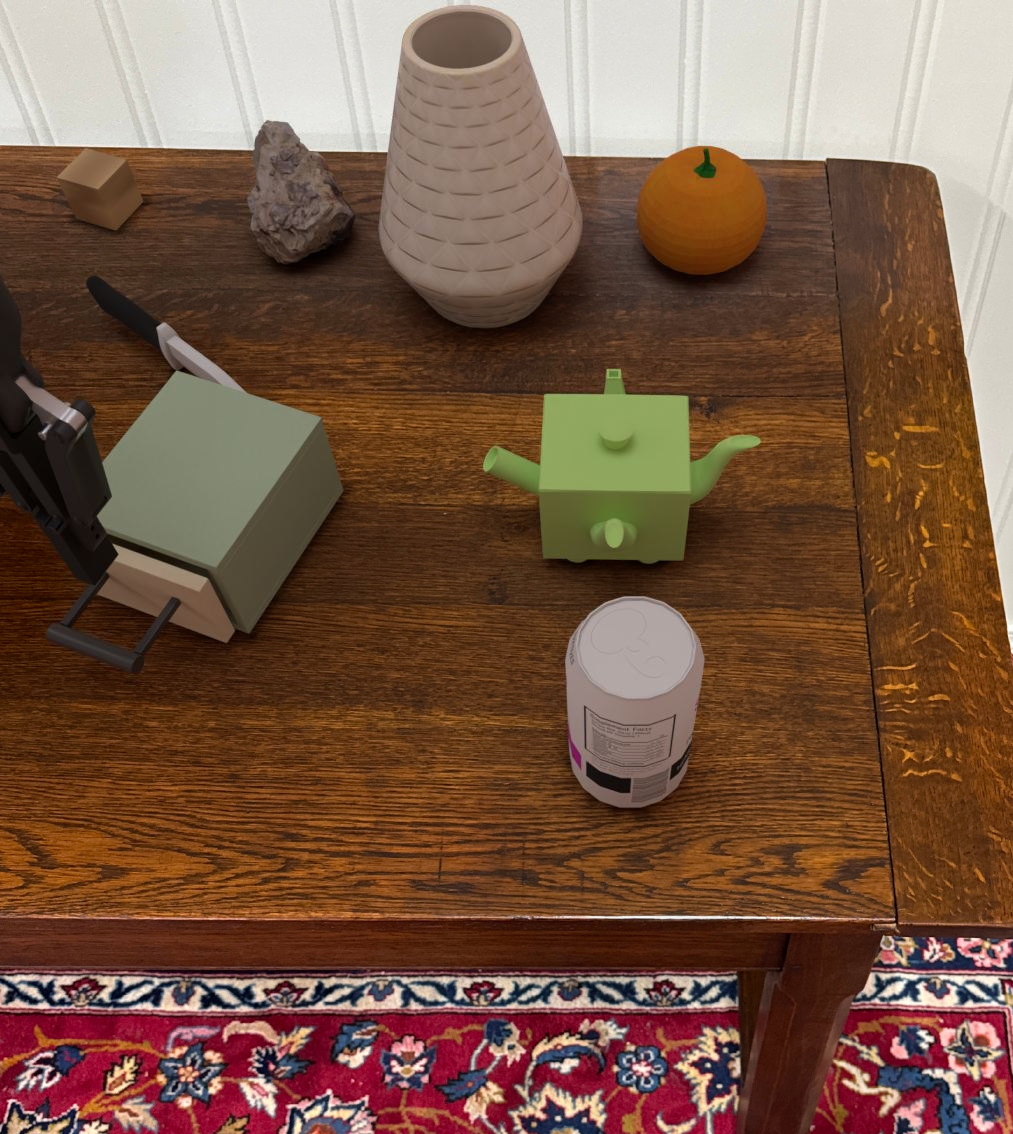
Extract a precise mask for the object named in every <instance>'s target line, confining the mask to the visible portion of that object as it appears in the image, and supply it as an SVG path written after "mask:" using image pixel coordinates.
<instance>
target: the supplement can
mask: <svg viewBox="0 0 1013 1134" xmlns="http://www.w3.org/2000/svg"><path fill="white" fill-rule="evenodd" d="M567 644H568V645H567V650H566V655H565V658H564V660H565V662H564V663H565V681H566V682H565V685H566V686H565V687H566V708H567V709H566V710H567V731H568V732H567V733H568V753H569V758H570V763H571V764H570V765H571V769H572V773H573V775H574V776H575V778H576V779H577V781H578V782H579V784H580V786H581V787H582V788H583V790H585V791H586V792H587V793H589V794H590V795H591V796H592V797H594V798H595V799H597V800H598V801H599V802H602V803H605V804H607V805H611V806H614V807H617V808H643V807H646V806H650V805H652V804H656V803H658V802H661V801H662V800H664V799H665V798H666V797H667V796H669V795H670V794H672V792H674V791H675V790H676V789H677V788H678V787H679V785H680V783H681V782H682V780H683V778H684V776H685V775H686V773H687V772H688V771H687V770H688V765H689V759H690V752H691V747H692V740H693V735H694V729H695V722H696V716H697V711H698V705H699V698H700V692H701V687H702V680H703V674H704V668H705V667H704V666H705V659H706V658H705V655H704V650H703V647H702V643H701V641H700V638H699V636H698V635H697V634H696V632H695V631H694V629H693V628H692V626H691V625H690V624H689V623H688V622H687V620H686V619H685V617H684V616H683V615H682V613H681V612H679V611H678V610H677V609H675V608H673V607H672V606H670V605H669V604H668V603H666V602H664V601H662V600H658V599H654V598H652V597H649V596H644V595H643V596H636V595H635V596H631V595H630V596H622V597H618V598H614V599H612V600H611V599H610V600H608V601H605V602H604V603H602V604H601V605H599V606H598V607H597V608H595V609H593V610H591V612H589V613H588V615H587V616H586V618H585V619H583V620H582V621H581V622H580V623H579V624H578V626H577V627H576V629H575V631H574V632H573V633H572V635H571V637H570V638H569V641H568V643H567Z"/></svg>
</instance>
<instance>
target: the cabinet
mask: <svg viewBox="0 0 1013 1134" xmlns="http://www.w3.org/2000/svg"><path fill="white" fill-rule="evenodd" d="M245 392H246V391H245ZM245 392H242V391H239V390H236V389H233V388H229V387H226V386H223V385H220V384H217V383H214V382H211V381H208V380H205V379H202V378H199V377H197V376H196V375H192V374H189V373H186V372H183V371H180V370H178V371H177V370H175V372H174V373H173V374H172V375H171V377H170V378H169V379H168V380H167V382H166V383H165V384H164V385H163V387H162V388H161V389H160V390H159V392H158V393H157V394H156V395H155V396H154V398H153V399H152V400H151V401H150V402H149V404H148V405H147V406H146V407H145V409H144V410H143V411H142V412H141V414H140V415H139V416H138V417H137V418H136V419H135V421H134V422H133V424H132V425H131V426H130V427H129V428H128V430H126V432H125V433H124V435H123V436H122V437H121V438H120V440H119V441H118V442H117V443H116V445H115V446H114V447H113V448H112V450H111V451H110V452H109V453H108V455H107V456H106V457H105V458H104V459H103V461H102V464H103V467H104V470H105V474H106V477H107V481H108V484H109V487H110V491H111V494H112V498H111V499H110V500H109V501H108V503H107V504H106V505H105V506H104V508H103V509H102V510H101V512H100V513H99V514H98V515H97V517H98V519H99V521H100V522H101V524H102V526H103V527H104V529H105V530H106V533H108V534H110V535H113V536H116V537H119V538H121V539H124V540H127V541H130V542H132V543H135V544H138V545H141V546H143V547H146V548H149V549H152V550H154V551H157V552H160V553H163V554H166V555H168V556H171V557H174V558H177V559H179V560H182V561H185V562H188V563H190V564H193V565H196V566H199V567H201V568H204V569H207V570H210V572H211V574H212V575H213V577H214V579H215V581H216V583H217V585H218V587H219V589H220V591H221V593H222V595H223V597H224V599H225V601H226V603H227V605H228V607H229V609H228V608H225V607H223V608H224V610H225V612H226V614H227V616H228V618H229V620H230V622H231V624H232V626H233V628H234V630H238V631H241V632H243V633H245V634H250V633H251V632H252V630H253V629H254V627H255V626H256V624H257V623H258V621H259V620H260V618H261V617H262V615H263V614H264V612H265V611H266V609H267V608H268V606H269V604H270V603H271V602H272V601H273V598H274V597H275V595H277V592H278V591H279V590H280V588H281V586H282V585H283V583H284V582H285V581H286V579H287V577H288V576H289V574H290V573H291V571H292V570H293V568H294V567H295V565H296V564H297V562H298V561H299V559H300V558H301V556H302V555H303V553H304V552H305V550H306V549H307V547H308V546H309V544H310V543H311V541H312V540H313V538H314V536H316V533H317V532H318V530H319V529H320V527H321V526H322V524H323V523H324V521H325V520H326V518H327V517H328V515H329V514H330V512H331V510H332V509H333V508H334V506H335V505H336V503H337V502H338V500H339V499H340V497H341V496H342V494H343V493H344V487H343V484H342V481H341V479H340V478H341V477H340V474H339V471H338V468H337V467H338V466H337V465H336V461H335V457H334V454H333V451H332V448H331V443H330V440H329V437H328V434H327V431H326V428H325V427H326V426H325V425H324V424H325V423H324V421H323V417H321V416H319V415H316V414H313V413H310V412H307V411H303V410H300V409H298V408H294V407H292V406H288V405H285V404H282V403H278V402H276V401H273V400H269V399H267V398H263V397H261V396H257V395H254V394H251V393H248V392H246V393H245Z"/></svg>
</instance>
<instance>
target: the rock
mask: <svg viewBox="0 0 1013 1134" xmlns="http://www.w3.org/2000/svg"><path fill="white" fill-rule="evenodd" d="M253 144H254V145H253V147H254V149H253V152H252V160H253V164H254V165H253V166H254V169H255V170H254V171H255V181H256V184H255V186H254V187H253V188H252V190H251V191H250V192H249V194H248V195H247V196H246V198H247V205H248V208H249V210H250V212H251V213H252V216H251V219H250V225H249V226H250V230H251V232H252V233H253V234H254V235H255V237H256V243H257V245H258V247H259V248H260V250H261V251H262V252H263V253H265V254H266V255H267V256H268V257H271V258H273V259H274V260H275V261H276V262H277V263H282V264H283V265H289V264H291V263H298V262H299V261H301V260H302V259H303V258H307V257H308V255H310V254H311V253H313V254H314V253H317V252H320V251H321V250H327V249H328V248H329V247H330V246H331V245H332V246H339V245H341V244H342V243H343V241H344V240H346V239H348V238H349V236H350V234H351V233H352V231H353V228H354V223H355V219H356V217H357V215H356V213H355V211H354V210H353V208H352V207H351V205H350V203H349V202H348V201H347V200H346V199H345V198H344V195H343V191H342V189H341V188H340V185H339V184H338V183H337V181H336V177H335V176H334V173H333V172H332V171H331V170H330V167H329V164H328V163H327V162H326V159H325V158H324V157H323V156H322V155H321V154H320V153H319V152H317V151H315V150H309V148H308V147H307V146H306V145H305V144H304V143H303V142H301V138H300V137H299V136H298V135H297V133H296V132H295V130H294V128H293V127H292V126H291V125H290V123H289V122H287V121H279V120H269V119H267V120H265V121H264V122H263V123H262V125H261V127H260V129H259V130H258V132H257V135H256V136H255V138H254V143H253Z"/></svg>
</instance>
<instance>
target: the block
mask: <svg viewBox="0 0 1013 1134" xmlns="http://www.w3.org/2000/svg"><path fill="white" fill-rule="evenodd" d="M56 179H57V181H58V184H59V186H60V189H61V190H62V192H63V194H64V196H65V199H66V201H67V203H68V205H69V207H70V209H71V211H72V214H73V216H74V218H75V219H76V220H78V221H82V222H85V223H88V224H92V225H95V226H99V227H102V228H105V229H109V230H110V231H111V230H112V231H115V232H117V231H118V230H119V229H120V227H121V226H122V225H124V224H125V222H126V221H127V220H128V219H129V218H130V217H131V216H132V215H133V214H134V213H135V211H136V210H137V209H138V208H139V207H140V206H141V205H142V204H143V203H144V198H143V196H142V194H141V191H140V189H139V187H138V184H137V181H136V179H135V176H134V174H133V172H132V169H131V167H130V164H129V162H128V159H126V158H123V157H119V156H115V155H112V154H108V153H105V152H101V151H97V150H94V149H91V148H87V147H85V148H84V149H83V150H82V151H81V152H80V153H79V154H78V155H77V156H76V157H75V158H74V159H73V160H72V161H71V162H70V163H69V164H68V165H66V167H65V168H64V169H63V170H62V171H61V172H60V173H59V174H58V175H57V176H56Z"/></svg>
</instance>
